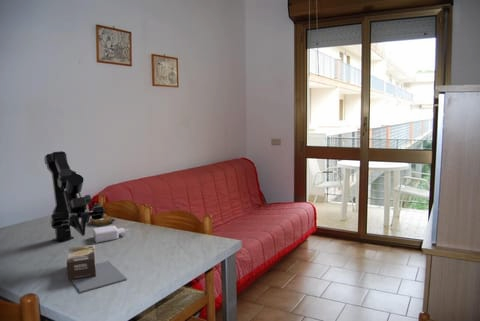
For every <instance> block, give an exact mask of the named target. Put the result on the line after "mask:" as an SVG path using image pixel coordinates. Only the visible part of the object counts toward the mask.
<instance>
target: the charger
mask: <svg viewBox="0 0 480 321" xmlns="http://www.w3.org/2000/svg"><path fill="white" fill-rule="evenodd" d="M92 230H93V239H94V241H95V242H96V244H97V243H102V242H108V241H113V240H118V239H119V237H120V236H121V235H125V234H126V232H128V231H130V229H128V228H126V229H125V227H121V228H117V227H116V225H106V226H99V227H95V228H94V227H93V229H92Z"/></svg>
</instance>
